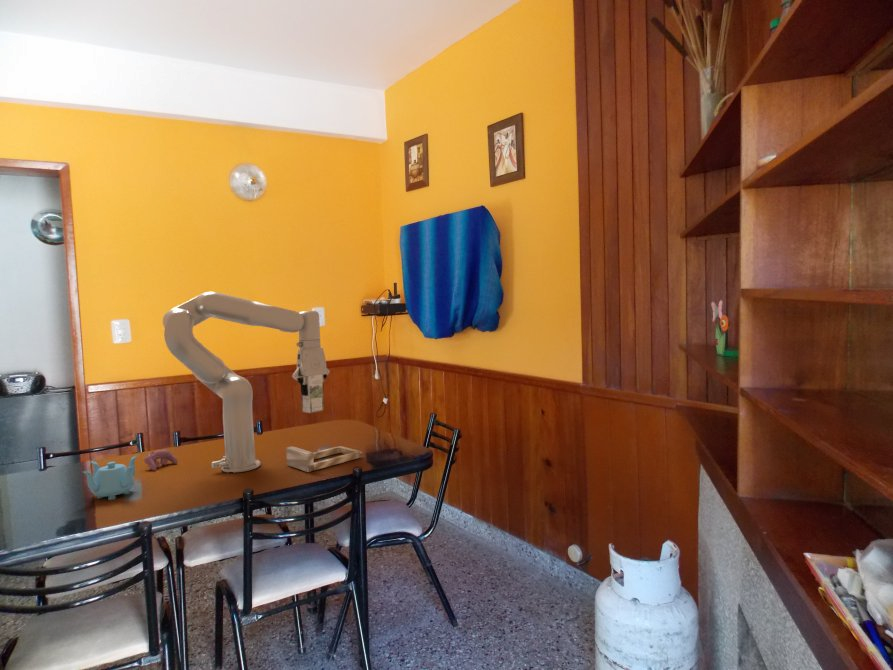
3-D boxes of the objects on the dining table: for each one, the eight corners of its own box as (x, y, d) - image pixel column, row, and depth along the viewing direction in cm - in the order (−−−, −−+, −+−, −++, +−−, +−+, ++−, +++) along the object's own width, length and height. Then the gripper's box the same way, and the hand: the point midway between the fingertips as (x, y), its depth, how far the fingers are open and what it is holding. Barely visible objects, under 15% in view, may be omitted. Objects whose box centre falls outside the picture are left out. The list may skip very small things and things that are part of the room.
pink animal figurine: (172, 466, 206) (165, 449, 207) (179, 462, 204) (172, 444, 205) (147, 474, 198) (140, 456, 199) (154, 470, 196) (147, 451, 197)
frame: (307, 472, 187) (306, 454, 186) (287, 465, 196) (286, 447, 195) (362, 456, 202) (361, 440, 202) (340, 451, 211) (339, 435, 211)
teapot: (94, 492, 176) (91, 460, 175) (142, 485, 181) (139, 454, 180) (84, 505, 164) (81, 471, 163) (136, 498, 169) (133, 464, 168)
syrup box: (315, 409, 213) (313, 370, 212) (324, 410, 209) (322, 371, 208) (302, 411, 209) (299, 372, 208) (310, 413, 205) (308, 373, 204)
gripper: (294, 347, 199) (297, 398, 200) (335, 343, 211) (338, 391, 212) (283, 346, 204) (286, 396, 205) (324, 342, 216) (326, 390, 217)
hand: (312, 393), depth 209 cm, fingers closed on syrup box, 5 cm apart
